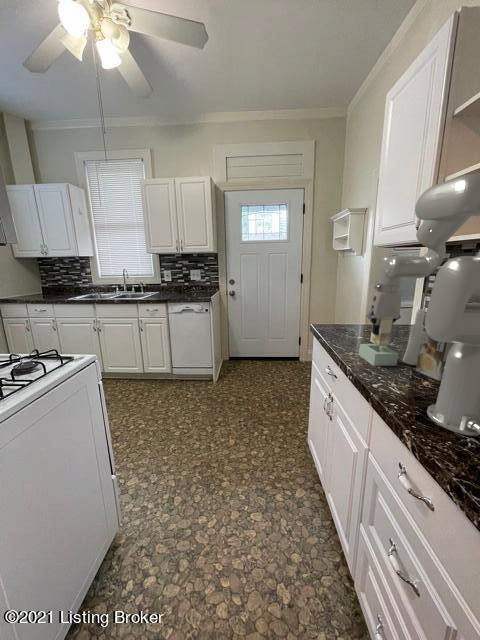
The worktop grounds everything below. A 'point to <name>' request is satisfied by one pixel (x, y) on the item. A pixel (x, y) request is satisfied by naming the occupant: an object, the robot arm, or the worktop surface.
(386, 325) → the beige rectangular block
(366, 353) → the end cap
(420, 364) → the coffee box
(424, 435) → the worktop surface
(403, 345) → the worktop surface
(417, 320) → the cosmetic bottle
